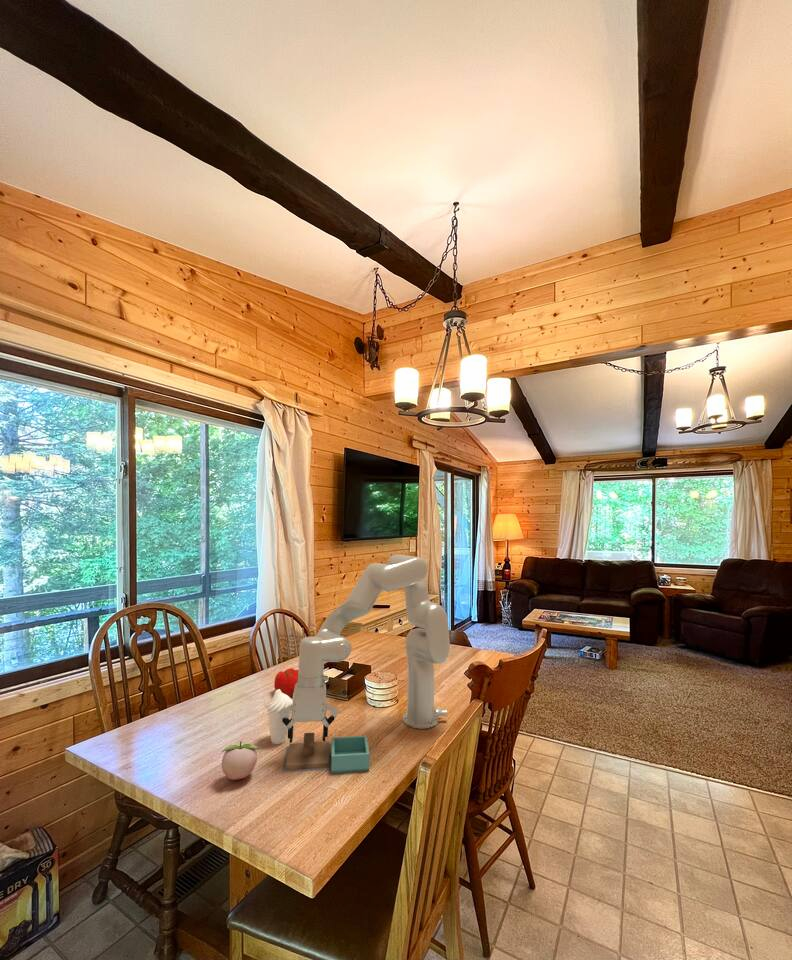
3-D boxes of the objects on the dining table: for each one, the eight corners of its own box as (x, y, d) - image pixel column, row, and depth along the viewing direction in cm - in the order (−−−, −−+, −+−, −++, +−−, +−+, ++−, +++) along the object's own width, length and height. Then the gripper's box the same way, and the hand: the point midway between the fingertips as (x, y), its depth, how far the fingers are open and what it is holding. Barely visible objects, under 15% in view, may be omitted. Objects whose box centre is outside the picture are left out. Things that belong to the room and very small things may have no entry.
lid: (329, 745, 136) (329, 724, 136) (328, 767, 124) (329, 744, 124) (289, 747, 134) (290, 726, 135) (285, 770, 122) (286, 746, 123)
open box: (366, 752, 133) (366, 735, 133) (369, 772, 122) (369, 754, 123) (331, 754, 131) (331, 737, 132) (331, 775, 121) (331, 756, 121)
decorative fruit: (220, 793, 112) (222, 753, 113) (219, 776, 119) (221, 738, 120) (258, 785, 116) (260, 746, 116) (255, 769, 123) (257, 732, 124)
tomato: (287, 686, 183) (288, 664, 184) (307, 693, 176) (308, 670, 177) (267, 694, 175) (268, 671, 176) (286, 702, 168) (287, 678, 169)
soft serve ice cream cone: (296, 737, 141) (298, 686, 142) (282, 750, 133) (284, 696, 134) (274, 733, 144) (276, 683, 145) (259, 745, 136) (261, 692, 137)
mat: (332, 745, 137) (332, 743, 137) (332, 770, 123) (332, 768, 123) (286, 747, 135) (286, 746, 135) (281, 773, 121) (281, 772, 121)
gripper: (339, 675, 136) (336, 733, 134) (282, 676, 133) (279, 735, 132) (339, 684, 128) (337, 745, 127) (279, 685, 126) (276, 747, 124)
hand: (307, 740), depth 129 cm, fingers open, 9 cm apart
